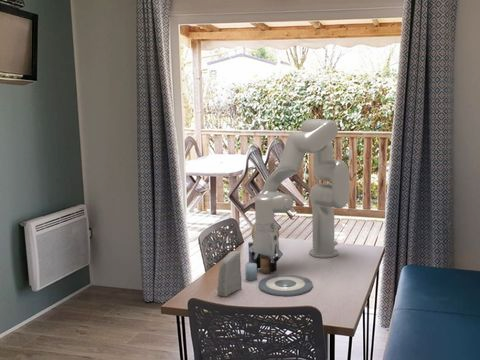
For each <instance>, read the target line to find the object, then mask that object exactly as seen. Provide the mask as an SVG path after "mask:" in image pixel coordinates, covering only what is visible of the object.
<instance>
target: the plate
mask: <svg viewBox="0 0 480 360" xmlns="http://www.w3.org/2000/svg"><path fill="white" fill-rule="evenodd" d="M313 287H314V285H313V281H312V280H311V279H309V278H307V277H305V276H302V275H298V274H297V275H296V274H288V273H285V274H284V273H283V274H273V275H269V276H266V277H264V278H262V279H261V280H259V282H258V289H259V291H261V292H263V294H264V293H265V294H267V295H270V296H276V297H296V296H301V295H304V294H307V293H309V292H310V291H312V290H313Z"/></svg>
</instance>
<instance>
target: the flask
mask: <svg viewBox="0 0 480 360" xmlns="http://www.w3.org/2000/svg"><path fill="white" fill-rule="evenodd" d="M252 245H253V241H248V244H247V246H248V263H255V259H254V256H253V255H252V253H251V252H250V250H249V248H250V247H251V246H252ZM262 256H266V255H261V256H260V257H262Z"/></svg>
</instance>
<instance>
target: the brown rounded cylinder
mask: <svg viewBox="0 0 480 360" xmlns="http://www.w3.org/2000/svg"><path fill="white" fill-rule="evenodd" d="M271 263H272V261H271V259H270V256H262V257H260V265H261V268H260V274H263V275H267V274H269V275H270V274H272V272H271Z"/></svg>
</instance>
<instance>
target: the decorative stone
mask: <svg viewBox="0 0 480 360" xmlns="http://www.w3.org/2000/svg"><path fill="white" fill-rule="evenodd" d="M218 270H219V271H218V277H217V280H218V281H217V282H218V283H217V291H216V292H217V294H218V295H219V296H221V297H228V296H229V295H232V294H233V293H235V292H237V291H239V290H240V289H242V271H241V270H242V269H241V252H240V251H238V250H237V251H236V250H233V251H230V252H228V253H227V254H226V256H225V257H224V258H223V259H222V261H221V263H220V265H219V269H218ZM231 293H232V294H231Z"/></svg>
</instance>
